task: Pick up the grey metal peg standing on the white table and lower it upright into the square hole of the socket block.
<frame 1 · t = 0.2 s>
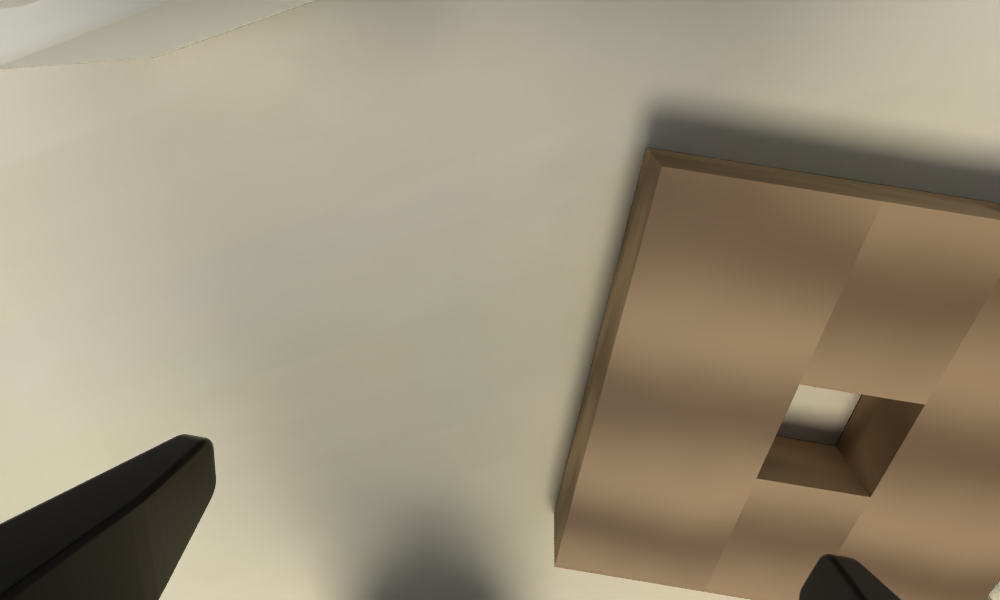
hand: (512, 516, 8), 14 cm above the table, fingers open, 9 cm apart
socket block: (804, 396, 24), on the table
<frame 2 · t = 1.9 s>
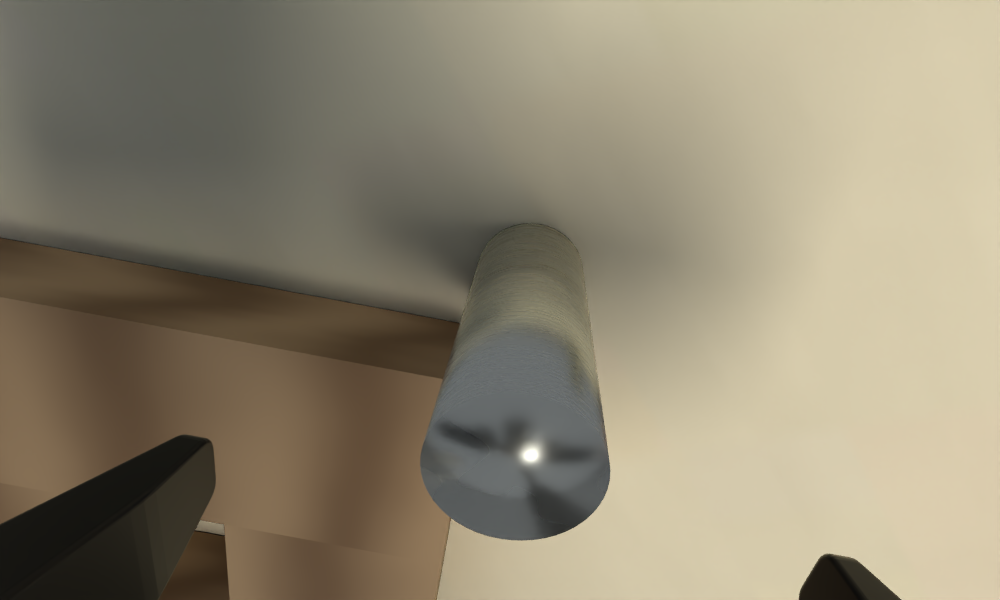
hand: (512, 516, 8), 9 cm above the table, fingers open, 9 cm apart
peg: (529, 273, 16), on the table
socket block: (209, 492, 21), on the table
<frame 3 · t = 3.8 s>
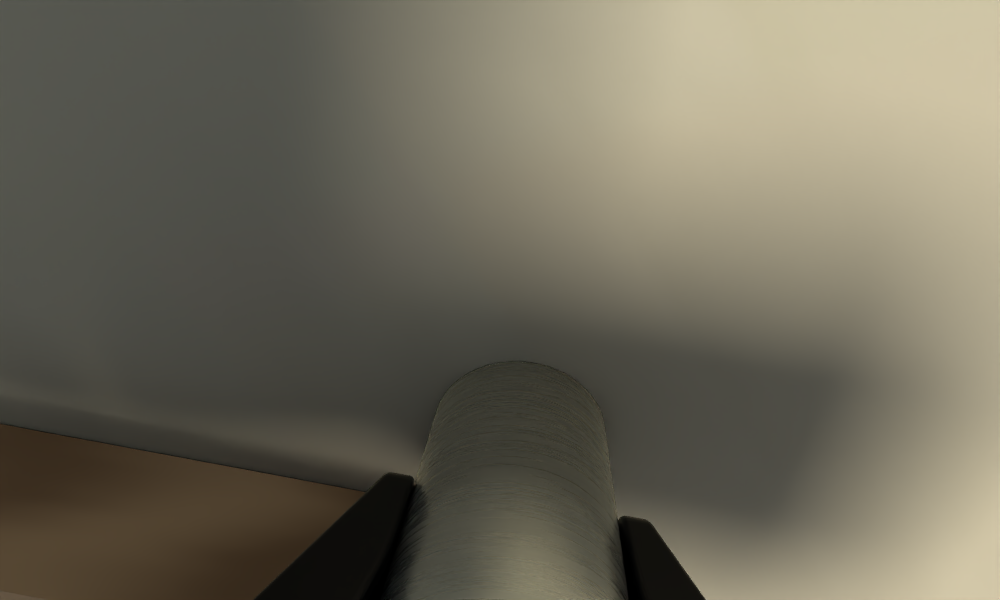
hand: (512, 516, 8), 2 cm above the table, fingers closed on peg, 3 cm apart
peg: (518, 434, 10), on the table, touching gripper
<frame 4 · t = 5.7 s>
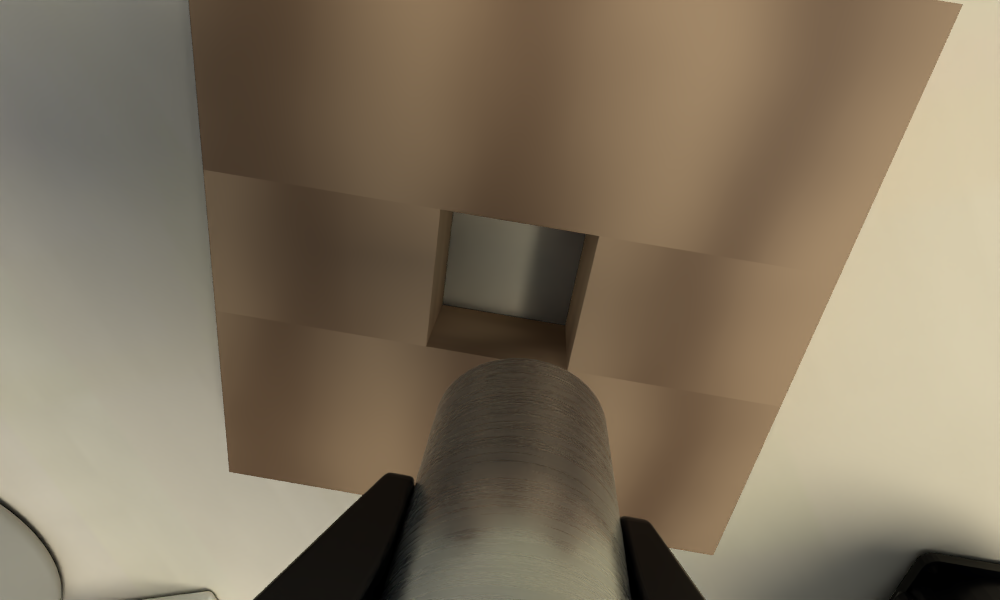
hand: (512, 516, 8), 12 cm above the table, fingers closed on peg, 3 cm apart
peg: (520, 431, 10), point 10 cm above the table, touching gripper
socket block: (513, 257, 19), on the table
when the fingers open (3 cm above the table, at t = 7.7 s): peg drops 2 cm, resting in socket block.
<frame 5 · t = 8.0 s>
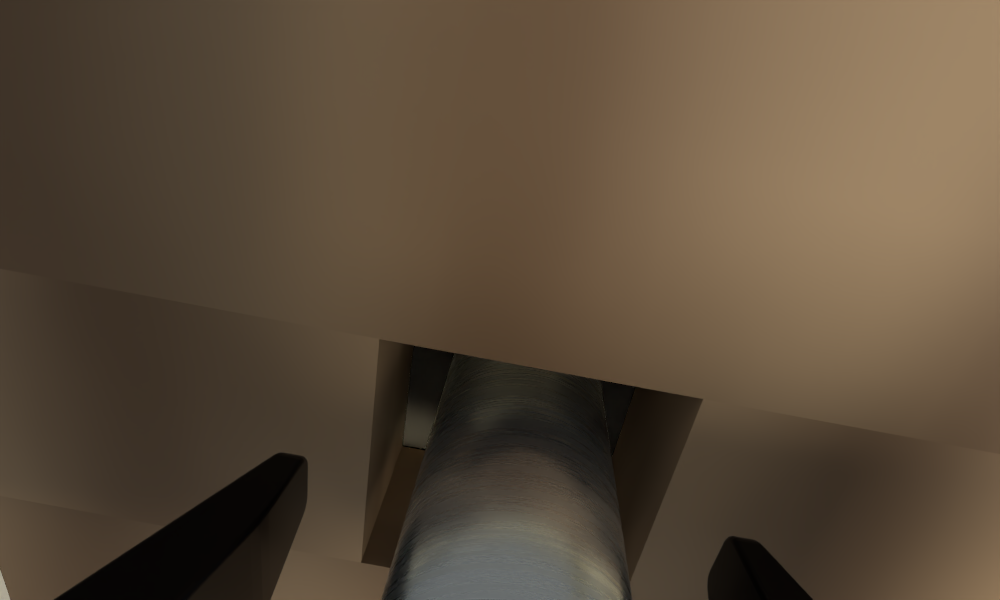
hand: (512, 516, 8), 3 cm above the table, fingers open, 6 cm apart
peg: (524, 378, 11), resting in socket block
socket block: (521, 380, 11), on the table
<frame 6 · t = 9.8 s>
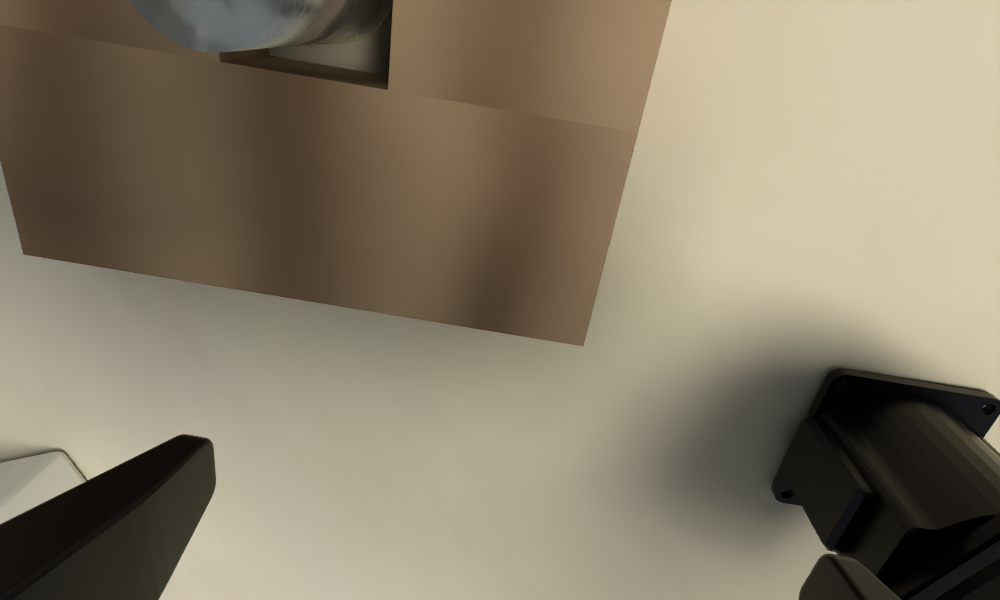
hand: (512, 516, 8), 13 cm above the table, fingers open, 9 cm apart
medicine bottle: (50, 510, 28), on the table
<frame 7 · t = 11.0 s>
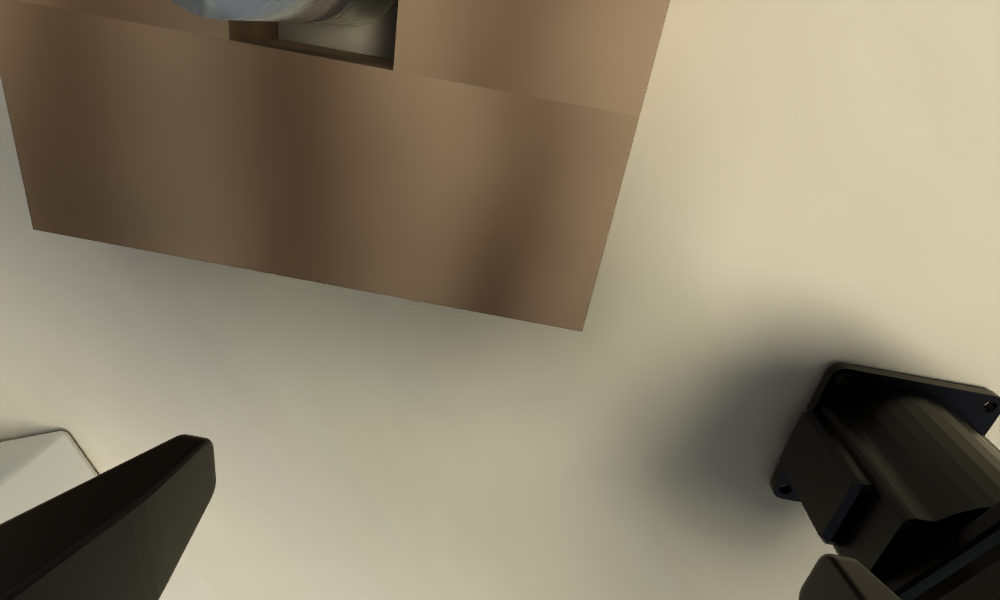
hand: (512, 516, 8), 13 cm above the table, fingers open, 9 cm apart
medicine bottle: (52, 491, 28), on the table
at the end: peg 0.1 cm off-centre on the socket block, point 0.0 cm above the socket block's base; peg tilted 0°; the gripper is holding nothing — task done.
